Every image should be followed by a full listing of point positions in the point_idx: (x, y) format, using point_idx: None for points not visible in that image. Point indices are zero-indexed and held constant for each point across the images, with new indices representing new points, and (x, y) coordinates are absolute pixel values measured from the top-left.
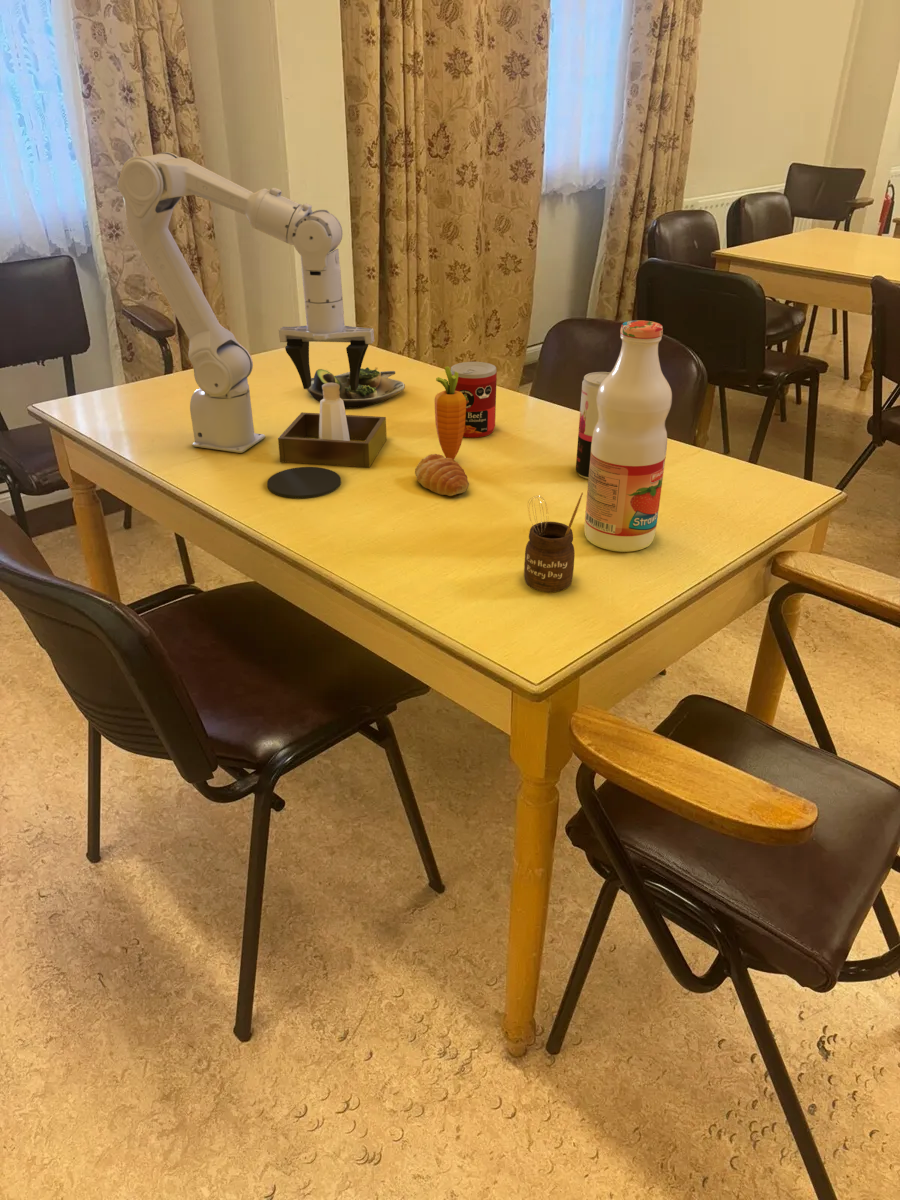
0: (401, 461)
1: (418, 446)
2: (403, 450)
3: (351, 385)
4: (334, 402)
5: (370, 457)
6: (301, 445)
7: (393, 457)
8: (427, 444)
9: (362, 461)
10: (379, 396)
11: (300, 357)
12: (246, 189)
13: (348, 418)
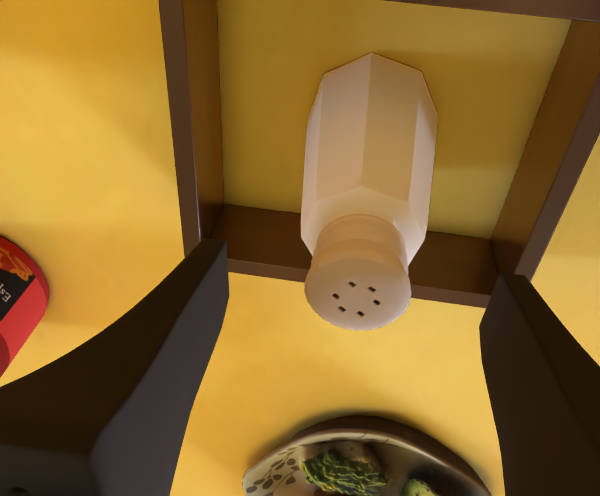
0: (91, 16)
1: (90, 162)
2: (124, 127)
3: (211, 255)
4: (339, 203)
5: None
6: None
7: (135, 57)
8: (69, 179)
9: None
10: (289, 447)
11: (597, 441)
12: None
13: None
